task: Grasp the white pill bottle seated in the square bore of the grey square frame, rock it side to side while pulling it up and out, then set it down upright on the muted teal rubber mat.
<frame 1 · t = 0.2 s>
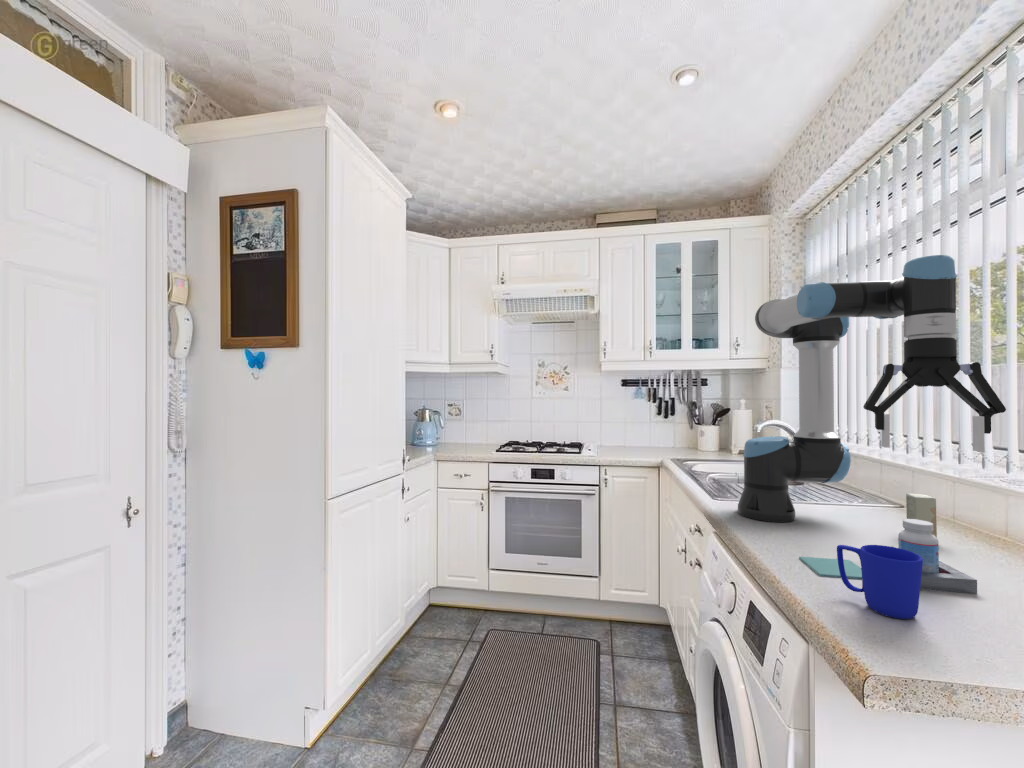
hand: (930, 449, 89), 26 cm above the worktop, fingers open, 13 cm apart
pill bottle: (918, 579, 93), resting in grey square frame
grey square frame: (918, 577, 93), on the worktop
mat: (835, 568, 97), on the worktop
box: (921, 540, 117), on the worktop
mug: (877, 608, 80), on the worktop
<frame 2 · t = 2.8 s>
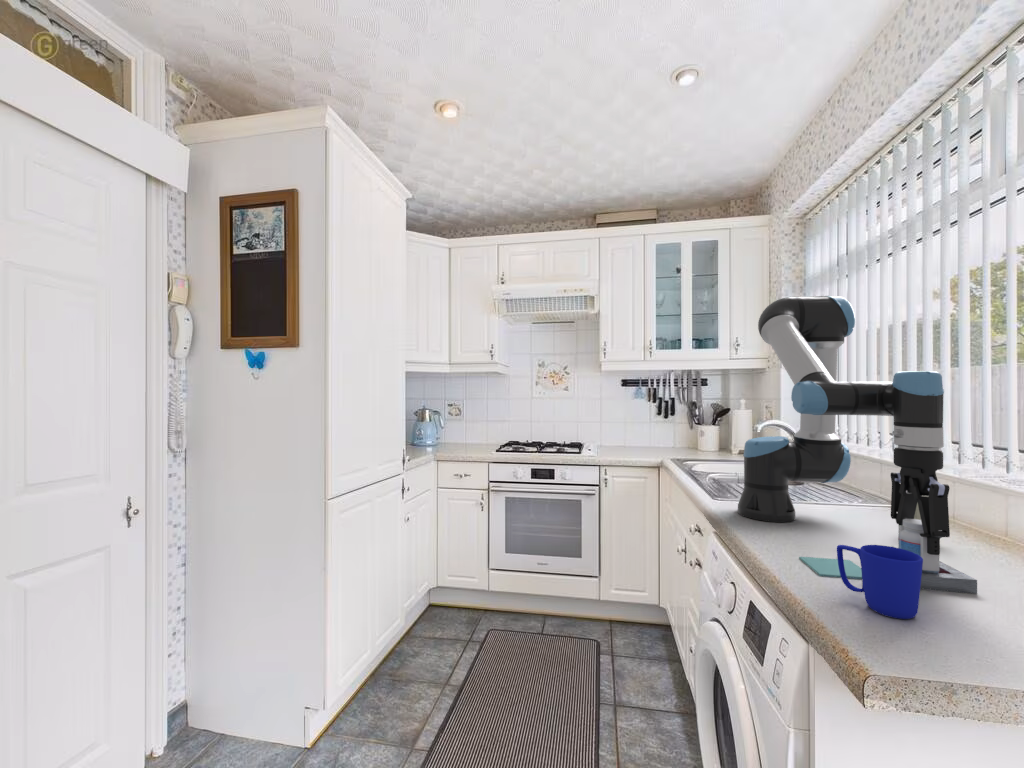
hand: (918, 563, 93), 3 cm above the worktop, fingers closed on pill bottle, 6 cm apart
pill bottle: (918, 579, 93), resting in grey square frame, touching gripper
everything else where it was.
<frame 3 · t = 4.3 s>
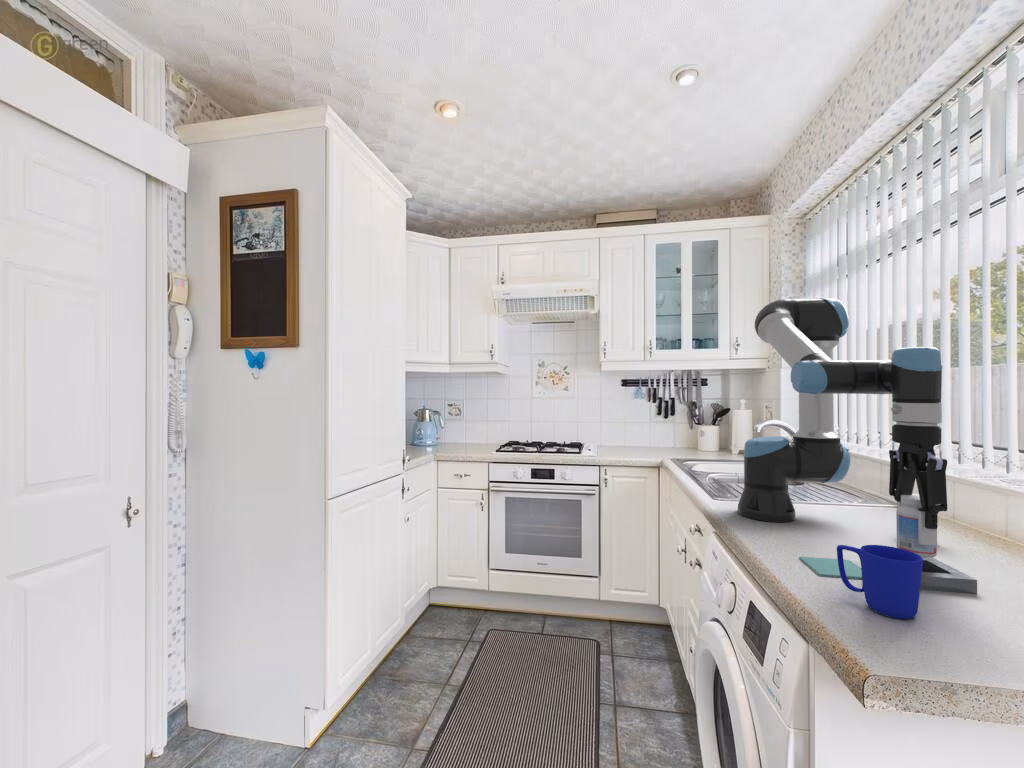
hand: (916, 538, 93), 8 cm above the worktop, fingers closed on pill bottle, 6 cm apart
pill bottle: (916, 554, 93), point 5 cm above the worktop, touching gripper
everything else where it was.
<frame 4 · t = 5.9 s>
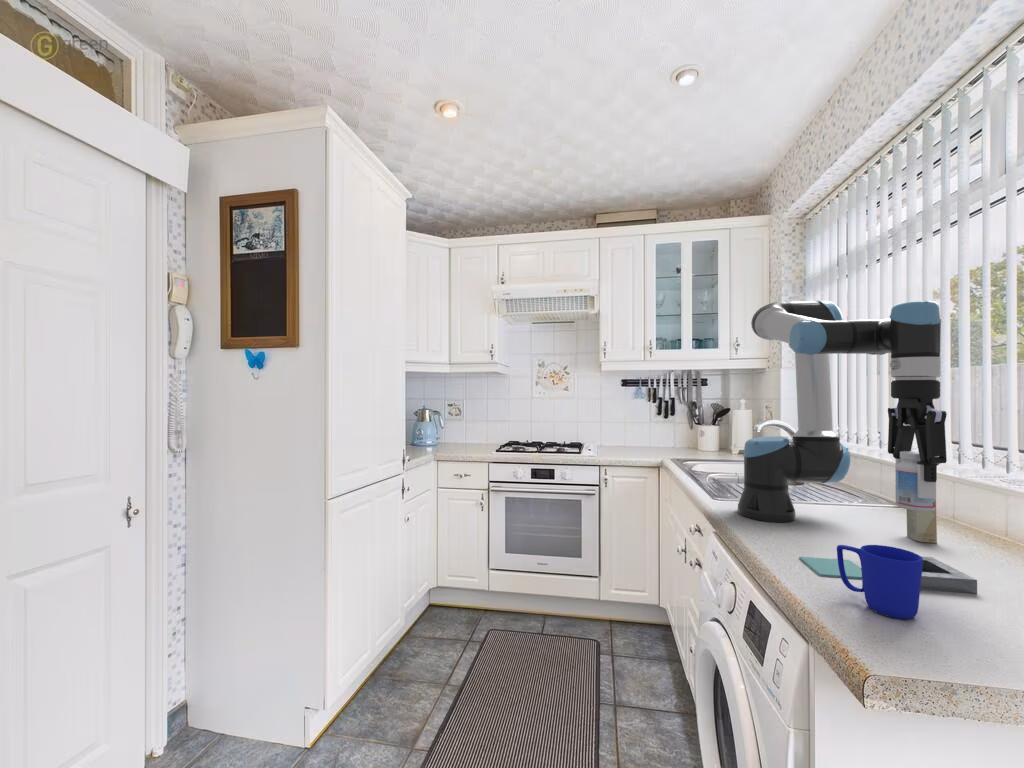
hand: (915, 493, 93), 17 cm above the worktop, fingers closed on pill bottle, 6 cm apart
pill bottle: (915, 509, 93), point 14 cm above the worktop, touching gripper
everything else where it was.
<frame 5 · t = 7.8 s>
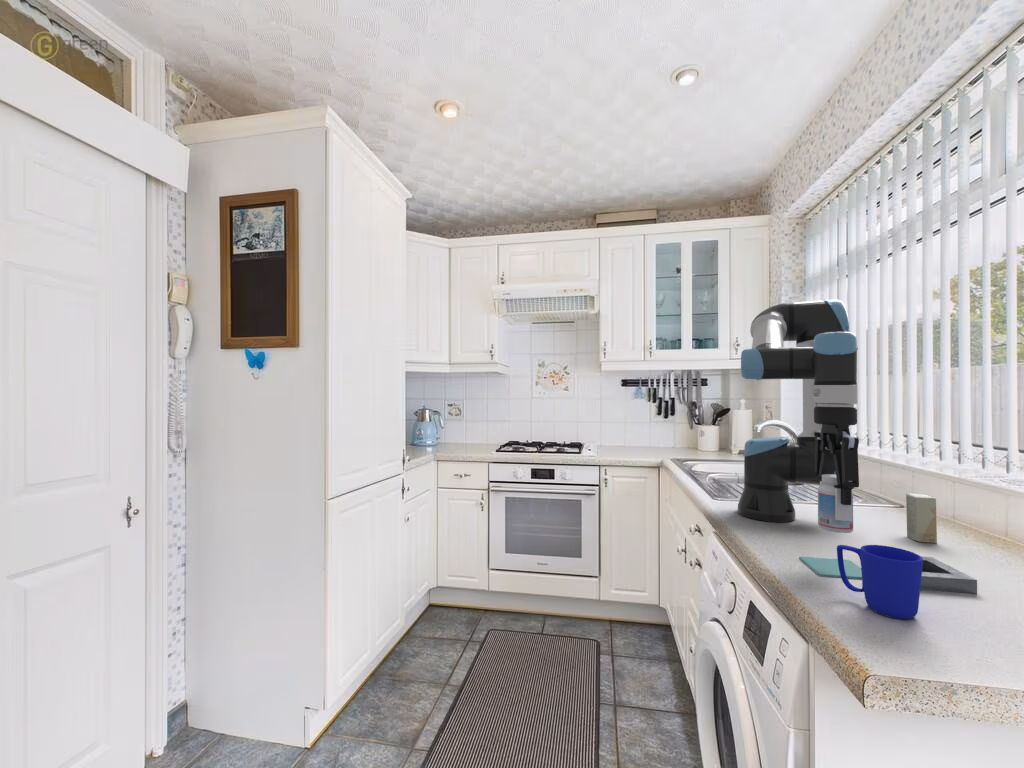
hand: (835, 515, 97), 11 cm above the worktop, fingers closed on pill bottle, 6 cm apart
pill bottle: (835, 530, 97), point 8 cm above the worktop, touching gripper
everything else where it was.
when the fingers open (4 cm above the worktop, at t = 9.3 s): pill bottle drops 1 cm, resting on mat.
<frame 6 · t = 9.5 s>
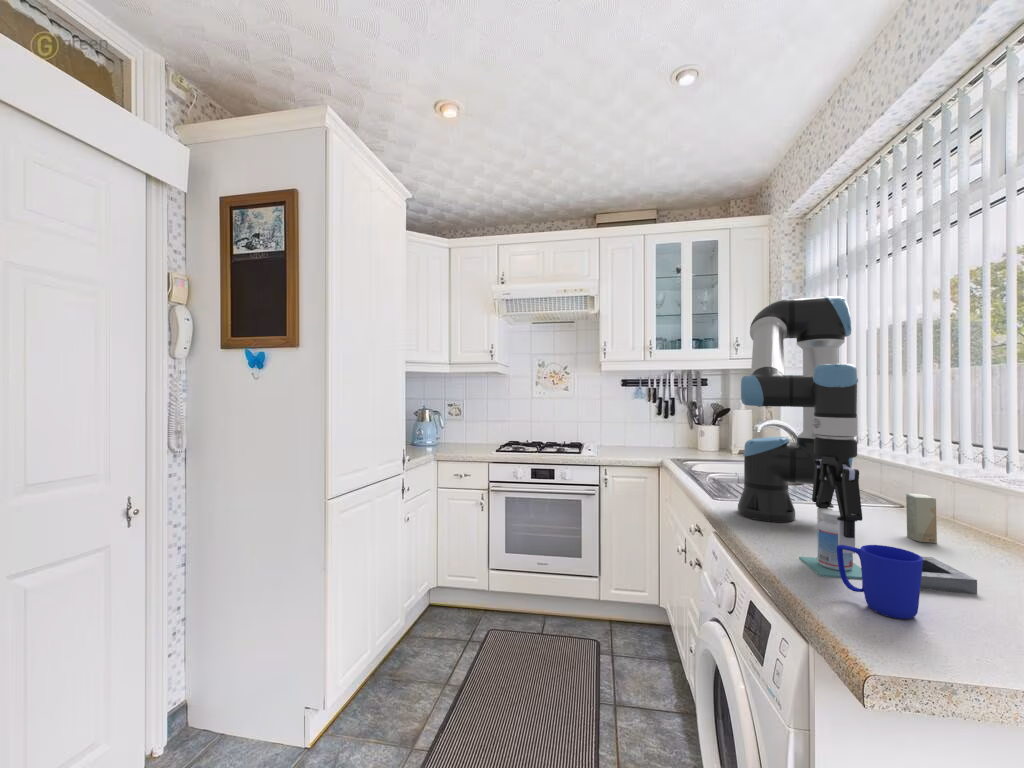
hand: (835, 545, 97), 5 cm above the worktop, fingers open, 8 cm apart
pill bottle: (834, 567, 98), resting on mat
everything else where it was.
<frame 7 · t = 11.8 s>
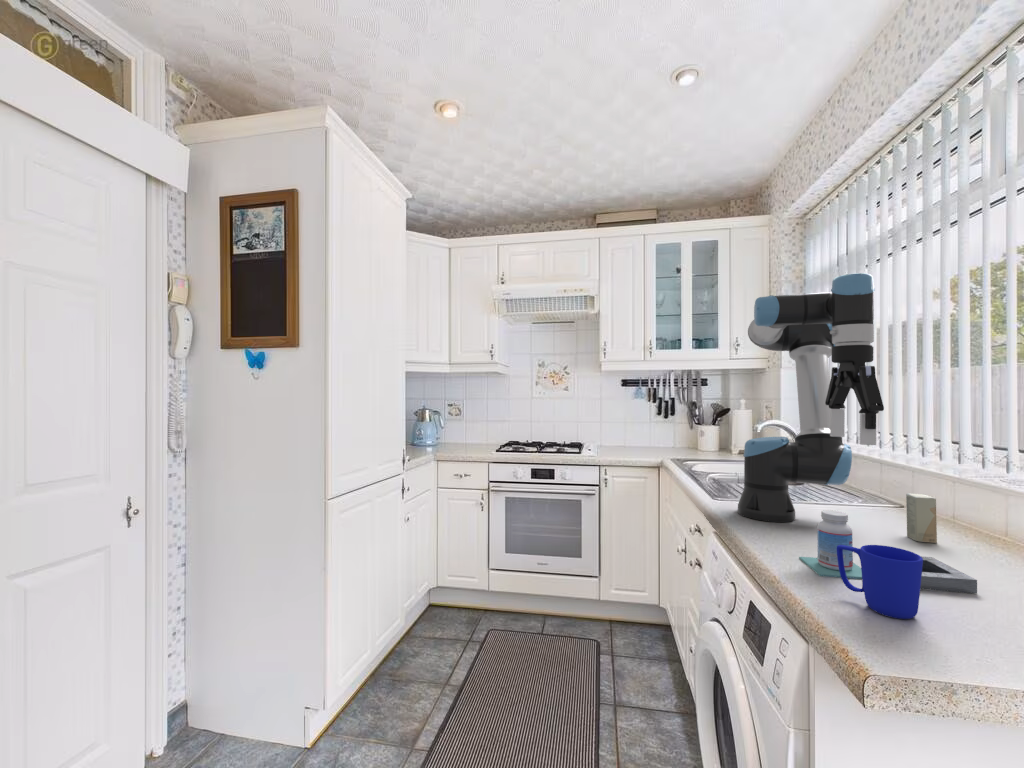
hand: (851, 440, 103), 26 cm above the worktop, fingers open, 13 cm apart
nothing on the worktop moved.
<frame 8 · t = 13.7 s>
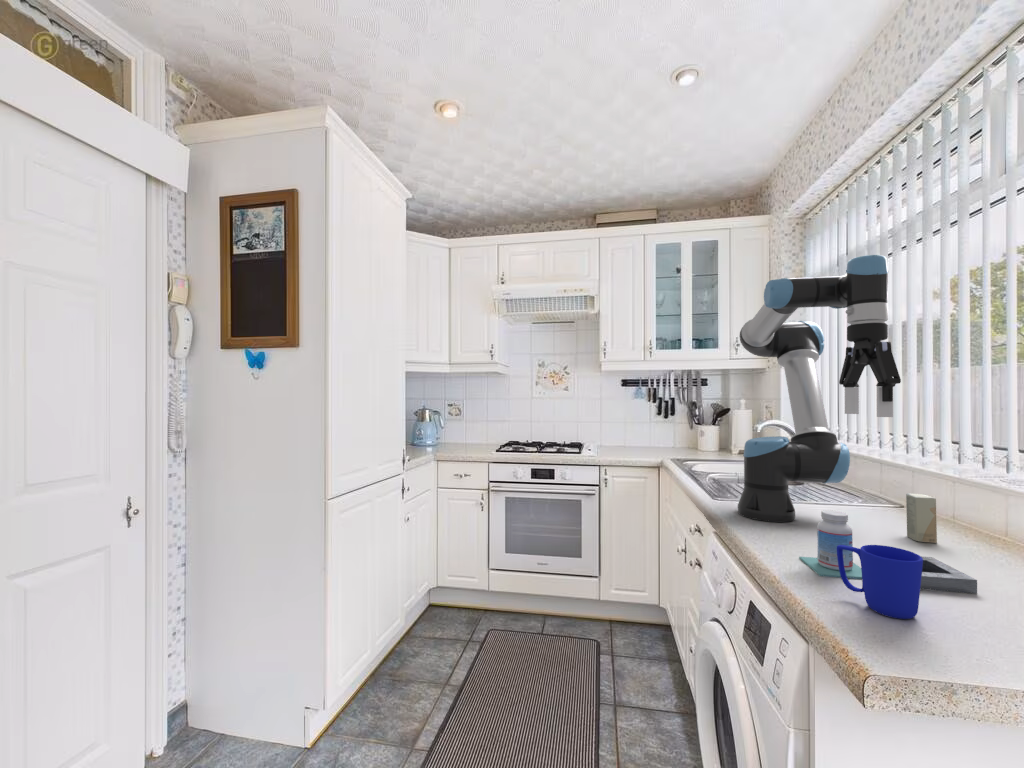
hand: (867, 415, 107), 32 cm above the worktop, fingers open, 13 cm apart
nothing on the worktop moved.
at the end: pill bottle inside the target area on the mat (0.2 cm from its centre), point 0.2 cm above the mat's base; pill bottle tilted 0°; the gripper is holding nothing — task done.
